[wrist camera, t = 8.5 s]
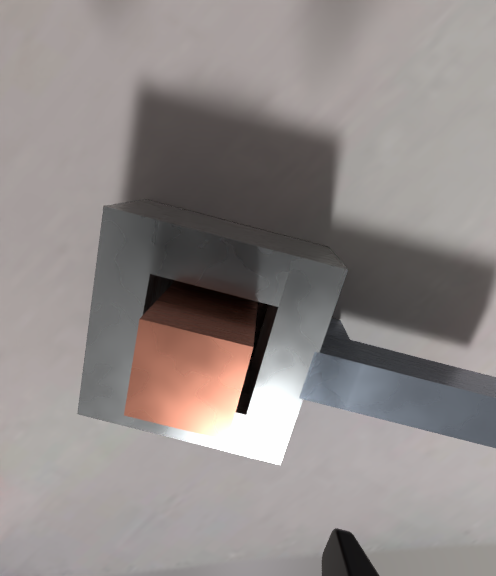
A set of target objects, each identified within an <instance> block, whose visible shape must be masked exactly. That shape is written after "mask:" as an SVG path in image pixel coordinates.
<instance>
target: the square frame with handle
mask: <svg viewBox="0 0 496 576" xmlns="http://www.w3.org/2000/svg"><path fill="white" fill-rule="evenodd" d="M347 272H348V269H347V268H346V267H345V265H344V264H343V263H342V262H341V261H340V260H339V259H338V257H337V256H336V255H335V254H334V253H333V252H332V250H331V249H330V248H329V247H326V246H323V245H319V244H315V243H311V242H307V241H303V240H300V239H296V238H292V237H288V236H284V235H280V234H277V233H273V232H269V231H265V230H261V229H258V228H254V227H250V226H246V225H242V224H238V223H235V222H231V221H227V220H223V219H219V218H215V217H212V216H208V215H204V214H200V213H196V212H193V211H189V210H185V209H181V208H177V207H173V206H170V205H166V204H162V203H158V202H154V201H150V200H147V199H144V200H138V201H132V202H126V203H119V204H113V205H107V206H104V207H103V215H102V223H101V231H100V239H99V247H98V255H97V263H96V271H95V279H94V287H93V295H92V303H91V310H90V318H89V326H88V334H87V342H86V350H85V358H84V366H83V374H82V382H81V390H80V398H79V406H78V414H79V415H83V416H87V417H91V418H95V419H99V420H103V421H107V422H111V423H115V424H119V425H123V426H127V427H131V428H135V429H139V430H143V431H147V432H151V433H155V434H159V435H163V436H167V437H171V438H175V439H179V440H183V441H187V442H191V443H195V444H199V445H203V446H207V447H211V448H215V449H219V450H223V451H227V452H230V453H234V454H238V455H242V456H246V457H250V458H254V459H258V460H262V461H266V462H270V463H274V464H278V465H281V462H282V459H283V456H284V453H285V450H286V447H287V444H288V442H289V439H290V436H291V433H292V430H293V427H294V424H295V421H296V419H297V416H298V413H299V410H300V407H301V404H302V401H303V399H304V400H308V401H312V402H316V403H320V404H324V405H328V406H332V407H336V408H340V409H344V410H348V411H351V412H355V413H359V414H363V415H367V416H371V417H375V418H379V419H383V420H387V421H391V422H395V423H399V424H403V425H407V426H410V427H414V428H418V429H422V430H426V431H430V432H434V433H438V434H442V435H446V436H450V437H454V438H458V439H462V440H466V441H470V442H473V443H477V444H481V445H485V446H489V447H493V448H496V377H492V376H489V375H485V374H481V373H477V372H473V371H469V370H465V369H461V368H457V367H454V366H450V365H446V364H442V363H438V362H434V361H430V360H426V359H422V358H419V357H415V356H411V355H407V354H403V353H399V352H395V351H391V350H388V349H384V348H380V347H376V346H372V345H368V344H364V343H360V342H356V341H353V340H350V339H349V337H348V335H347V333H346V331H345V329H344V327H343V325H342V323H341V321H340V320H338V319H334V318H332V315H333V312H334V309H335V306H336V303H337V301H338V298H339V295H340V292H341V289H342V286H343V283H344V280H345V278H346V275H347ZM173 280H176V281H180V282H184V283H188V284H191V285H195V286H199V287H203V288H207V289H211V290H215V291H219V292H222V293H226V294H230V295H234V296H238V297H242V298H246V299H250V300H253V301H257V302H261V303H265V304H268V307H267V311H266V314H265V318H264V321H263V325H262V328H261V332H260V335H259V339H258V342H257V346H256V349H255V353H254V356H253V360H252V362H249V365H248V369H247V372H246V376H245V380H244V383H243V387H242V391H241V394H240V398H239V402H238V405H237V409H236V413H235V416H234V420H233V424H232V427H231V431H230V434H229V438H228V441H227V440H223V439H218V438H214V437H210V436H206V435H202V434H198V433H194V432H190V431H186V430H182V429H177V428H173V427H169V426H165V425H161V424H157V423H153V422H149V421H145V420H140V419H136V418H132V417H128V416H124V411H125V405H126V399H127V393H128V386H129V380H130V374H131V368H132V362H133V356H134V350H135V343H136V337H137V331H138V325H139V319H140V318H141V317H142V316H143V315H144V314H145V313H146V311H147V310H148V309H149V308H150V307H151V306H152V305H153V304H154V303H155V302H156V301H157V300H158V299H159V298H160V296H161V295H162V294H163V293H164V292H165V291H166V290H167V289H168V288H169V287H170V286H171V285H172V284H173Z"/></svg>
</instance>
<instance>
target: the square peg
mask: <svg viewBox="0 0 496 576" xmlns="http://www.w3.org/2000/svg"><path fill="white" fill-rule="evenodd" d="M257 306H258V302H257V301H253V300H250V299H246V298H242V297H238V296H234V295H230V294H226V293H222V292H219V291H215V290H211V289H207V288H203V287H199V286H195V285H191V284H188V283H184V282H180V281H176V280H175V281H174V283H173V284H172V285H171V286H170V287H169V288H168V289H167V290H166V291H165V292H164V293H163V294H162V295H161V296H160V298H159V299H158V300H157V301H156V302H155V303H154V304H153V305H152V306H151V307H150V308H149V309H148V310H147V311H146V313H145V314H144V315H143V316H142V317H141V318H140V319H139V325H138V331H137V337H136V343H135V350H134V356H133V362H132V368H131V374H130V380H129V386H128V393H127V399H126V405H125V411H124V416H128V417H132V418H136V419H140V420H145V421H149V422H153V423H157V424H161V425H165V426H169V427H173V428H177V429H182V430H186V431H190V432H194V433H198V434H202V435H206V436H210V437H214V438H218V439H223V440H227V441H228V438H229V434H230V431H231V427H232V424H233V420H234V416H235V413H236V409H237V405H238V402H239V398H240V394H241V391H242V387H243V383H244V380H245V376H246V372H247V369H248V365H249V361H250V358H251V354H252V351H253V346H254V336H255V326H256V316H257Z"/></svg>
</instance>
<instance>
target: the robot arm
mask: <svg viewBox="0 0 496 576" xmlns="http://www.w3.org/2000/svg"><path fill="white" fill-rule="evenodd" d="M322 576H379V574H378V573H377V571H376V570H375V568H374V567H373V565H372V564H371V562H370V560H369V559H368V557H367V555H366V554H365V552H364V551H363V549H362V548H361V546H360V545H359V543H358V541H357V540H356V538H355V537H354V535H353V534H352V533H351V532H349V531H345V530H341V529H334V530H333V531H332V533H331V535H330V538H329V540H328V542H327V545H326V547H325V549H324V552H323V556H322Z"/></svg>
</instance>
